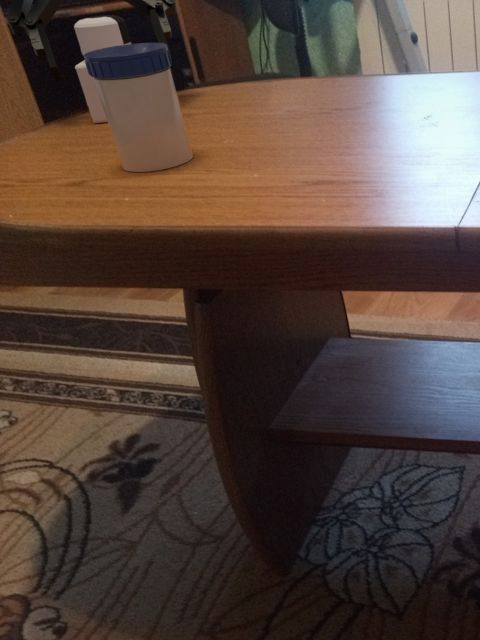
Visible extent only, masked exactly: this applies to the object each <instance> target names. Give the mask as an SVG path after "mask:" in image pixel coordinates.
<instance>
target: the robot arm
mask: <svg viewBox="0 0 480 640" xmlns="http://www.w3.org/2000/svg"><path fill="white" fill-rule="evenodd" d="M33 2H34V0H11V3H10V5H9V10H8V13H7V16H6V21H7V23H8V25H9V28H10V30H11V32H12V34H13V35H14V36H17V37H19V36H20V37H21V36H22V35H26V36H28V37H29V40H30V42H31V46H32V48H33V51H34V53H35V55H36V57H38V58H40V57H46V60H47V62H48V66H49V68H50V71H51V74H52V76H53V79H54V82H55V83H56V82H57V83H58V82H62V77H61V74H60V71H59V68H58V65H57V61H56V59H55V56H54V53H53V51H52V50H53V49H52V47H51V44H50V40H49V38H48V36H47V32H46V27H47V26H48V24H49V23H50V22H51V20H52V18H53V17H54V16H55V14H56V13H57V11H58V10H59V8H60V7H61V5H62V4H63V3H66V2H67V0H37V1H35V3H34V5H33ZM123 2H125V3H126V4H128V5H130V6H131V7H133V8H135V9H137V10H138V11H140V12H141V13H144V14H145V15H147V16H148V17H150V23H151V26H152V30H153V32H154V34H155V38H156V40H157V43H164V44H166V45H167V48H168V50H169V52H170V56H171V57H172V53H171V52H172V51H171V48H170V46H169V43H168V40H171V39H172V37H173V35H172V28H171V25H170V22H169V19H168V17H169V16H170V17H175V16H176V15H177V14H178V13H177V12H178V10H177V3H176V0H123ZM32 5H33V6H32ZM171 60H172V58H171ZM172 61H173V60H172Z"/></svg>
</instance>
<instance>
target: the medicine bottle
mask: <svg viewBox="0 0 480 640" xmlns="http://www.w3.org/2000/svg"><path fill="white" fill-rule="evenodd" d="M72 27H73V30H74V33H75V36H76V39H77V42H78V45H79V49H80V52H81V55H82V56H84V54H86V53H88V52H91V51H94V50H98V49H103V48H108V47H113V46H120V45H128V44H132V41H131V38H130V34H129V31H128V27H127V24H126V20H125V19H124V18H123V17H121V16H118V15H113V14H105V15H95V16H94V15H93V16H89V17H84V18H81V19H78V20H77V21H75V22H74V24H73V26H72ZM74 70H75V74H76V76H77V79H78V82H79V85H80V88H81V91H82V94H83V98H84V100H85V103H86V106H87V109H88V112H89V115H90V119H91V121H92V123H93V124H104V123H108V121H107V118H106V115H105V112H104V109H103V105H102V102H101V99H100V96H99V93H98V90H97V87H96V84H95V80H94V77H91V76H90V75H89V73H88V70H87V67H86V64H85V59H84V60H82V61H81V62H79V63H78V64H76V65H75V66H74Z"/></svg>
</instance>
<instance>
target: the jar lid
mask: <svg viewBox="0 0 480 640" xmlns="http://www.w3.org/2000/svg"><path fill="white" fill-rule="evenodd" d="M170 52H171V51H170ZM170 52H169V50H168V48H167V45H166V44H164V43H158V42H141V43H140V42H139V43H131V44H128V45H120V46H113V47H108V48H103V49H98V50H94V51H91V52H88V53H86V54H84V55H83V58H84V60H85V64H86V67H87V70H88V73H89V75H90V76H91V77H94V78H122V77H131V76H138V75H144V74H149V73H153V72H157V71H161V70H164V69H167V68H169V67H170V68H171V67H172V65H173V60H171V59H172V55H171V56H170Z"/></svg>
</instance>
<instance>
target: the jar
mask: <svg viewBox="0 0 480 640" xmlns="http://www.w3.org/2000/svg"><path fill="white" fill-rule="evenodd" d="M94 80H95V84H96V87H97V90H98V93H99V96H100V99H101V102H102V105H103V109H104V112H105V115H106V118H107V121H108V122H107V124H108V128H109V130H110V133H111V136H112V140H113V142H114V146H115V149H116V153H117V156H118V158H119V162H120V164H121V168H122V169H123V170H124V171H126V172H131V173H147V172H148V173H149V172H157V171H163V170H168V169H171V168H175V167H178V166H181V165H184V164H186V163H188V162H190V161H192V159H193V158H194V152H193V148H192V145H191V141H190V138H189V134H188V129H187V126H186V122H185V117H184V114H183V111H182V107H181V103H180V99H179V95H178V92H177V88H176V85H175V81H174V77H173V73H172V69H171V66H170V67H169V68H167V69H164V70H161V71H157V72H153V73H149V74H144V75H138V76H131V77H122V78H94Z"/></svg>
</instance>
